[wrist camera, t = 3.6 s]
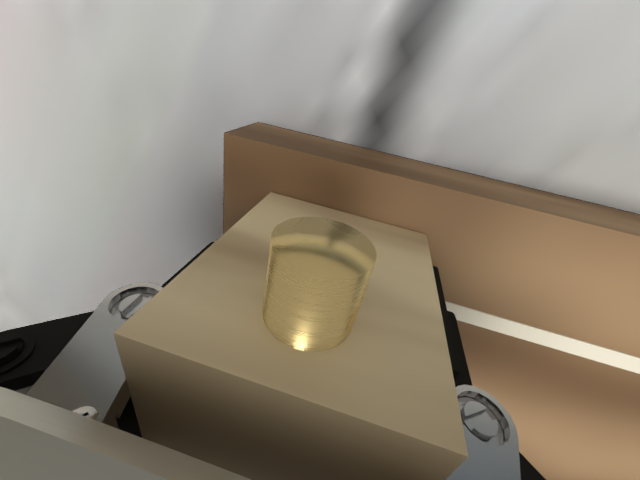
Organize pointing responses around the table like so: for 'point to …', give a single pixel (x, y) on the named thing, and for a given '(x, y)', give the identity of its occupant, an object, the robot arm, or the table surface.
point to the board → (494, 284)
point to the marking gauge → (300, 352)
